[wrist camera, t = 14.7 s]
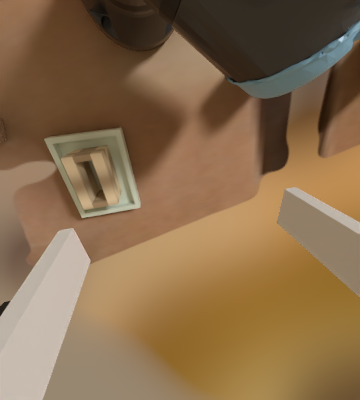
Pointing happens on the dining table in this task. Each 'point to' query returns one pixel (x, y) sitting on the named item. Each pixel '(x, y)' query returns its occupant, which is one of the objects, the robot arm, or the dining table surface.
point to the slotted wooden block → (85, 180)
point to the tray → (120, 159)
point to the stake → (2, 132)
